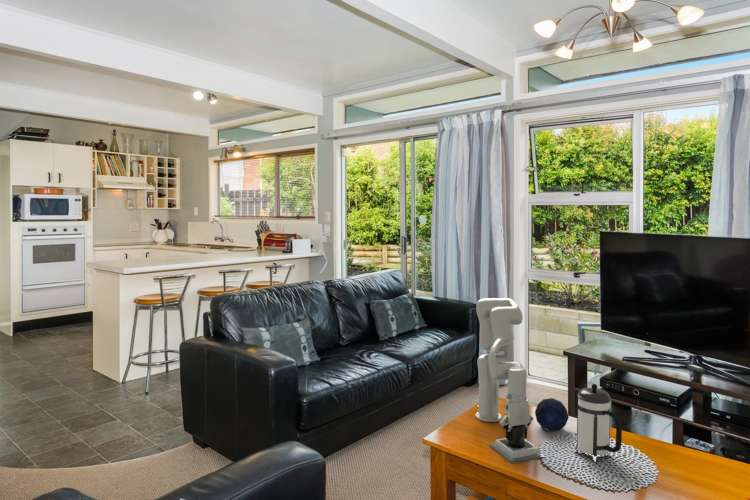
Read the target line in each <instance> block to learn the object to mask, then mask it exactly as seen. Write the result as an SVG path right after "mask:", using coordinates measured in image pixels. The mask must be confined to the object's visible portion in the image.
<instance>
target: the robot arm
mask: <svg viewBox="0 0 750 500" xmlns="http://www.w3.org/2000/svg"><path fill="white" fill-rule="evenodd" d="M475 310H476V311H475V312H476V315H477V317H478V322H479V341H480V342H479V344H480V349H481V350H482V351H484V352H488V353H484V354H481V355H479V356H478V358H477V360H476V361H477V362H476V363H477V364H476V365H477V370H478V404H477V405H476V408H477V409H478V411H476V413H475V418H476V419H477V420H479V421H482V422H485V423H496V422H499V424H500V425H501V427H502V428H503V429H504V430H505V438H506V439H508V440H509V441H512V432H511V428H512V426H519V425H524V426H525V439H526V440H527V438H528V429H529V428H530V427H529V426H530V425H531V424H532V422H533V420H534V417H533V416H532V415H531V414H530V413H531V412H530V411H531V410H530V404H529V400H528V399H527V384H528V383H527V382H528V381H527V378H528V377H527V376H528V374H527V372H528V371H527V370H526V368H525V367H524V366H523V364H522V363H521V362H519V361H514V360H515V358H514V355H515V354H514V339H515V335H514V333H513V332H514V331H513V327H512V326H518V325H519V326H520V325H521V324H522V322H523V320H524V319H523V317H524V316H523V313H522V310H521V308H520V307H519V305H518V304H517V303H516V302H515V300H513V299H512V298H509V297H503V298H502V297H499V298H498V297H490V298H489V297H487V298H481V299H479V300H478V301H477V302H476V307H475ZM497 352H502V353H497ZM499 381H507V394H506V395H505V399H506V400H505V405H504V414H503V415H504V417H502V414H501V413H499V407H500V406H499V403H500V402H499V397H500V395H499V389H500V383H499ZM508 426H509V427H508Z"/></svg>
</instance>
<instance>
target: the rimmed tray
mask: <svg viewBox="0 0 750 500" xmlns="http://www.w3.org/2000/svg"><path fill="white" fill-rule="evenodd" d="M488 446H489V448H490V449H492V450H493V452H496V453H497V454H498V455H499V456H501V458H503V459H504V460H506V462H508V463H510V465H511V464H516V463H521V462H527V461H532V460H537V459H541V458H540V456H541V455H540V452H541V451H540V450H539V447H537V446H536V445H535V444H533V443H531V442H530V441H528V440H527V438H526V439H525V446H524V448H522V449H515V448H511V447H510V446H509V445H508V439H506V437H504V438H498V439H495V440H494V443H489V445H488Z"/></svg>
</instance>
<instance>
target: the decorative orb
mask: <svg viewBox="0 0 750 500" xmlns="http://www.w3.org/2000/svg"><path fill="white" fill-rule="evenodd" d="M565 406H566V405H564V404H563V402H562V401H560V400H558V399H556V398H553V397H552V398H544V399H542V400H541V401H539V403H538V404H537V406H536V408H535V410H534V414H535V418H536V422H537V423H538V425H539V426H540V427H541V428H542V429H544V430H546V431H549V432H560V431H561V430H562V429H563V428H564V427H565V426H566V425H567V423H568V420H569V418H570V417H569V412H568V410H567V407H565Z"/></svg>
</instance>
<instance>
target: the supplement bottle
mask: <svg viewBox="0 0 750 500" xmlns="http://www.w3.org/2000/svg"><path fill="white" fill-rule="evenodd" d="M508 427H509V426H508ZM511 432H512V441H509V440H508V445H509V446H510V447H511V448H515V449H522V448H524V446H525V426H524V425H519V426H512V428H511Z"/></svg>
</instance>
